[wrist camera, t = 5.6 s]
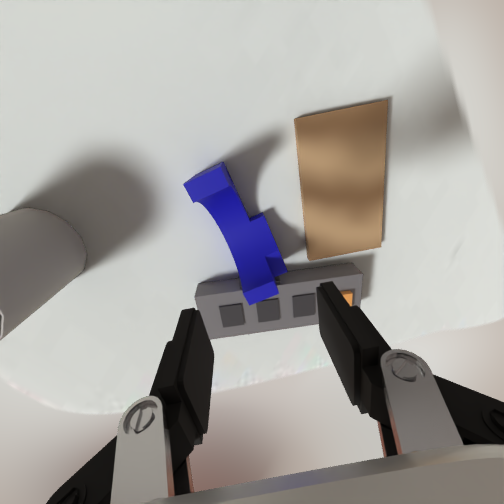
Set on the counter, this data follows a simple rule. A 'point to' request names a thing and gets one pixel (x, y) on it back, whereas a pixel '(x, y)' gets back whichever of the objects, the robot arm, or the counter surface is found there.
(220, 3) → the counter surface
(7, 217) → the cup
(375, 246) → the wooden board
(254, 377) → the counter surface
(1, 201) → the counter surface
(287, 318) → the power strip
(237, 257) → the cable clip
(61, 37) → the counter surface
